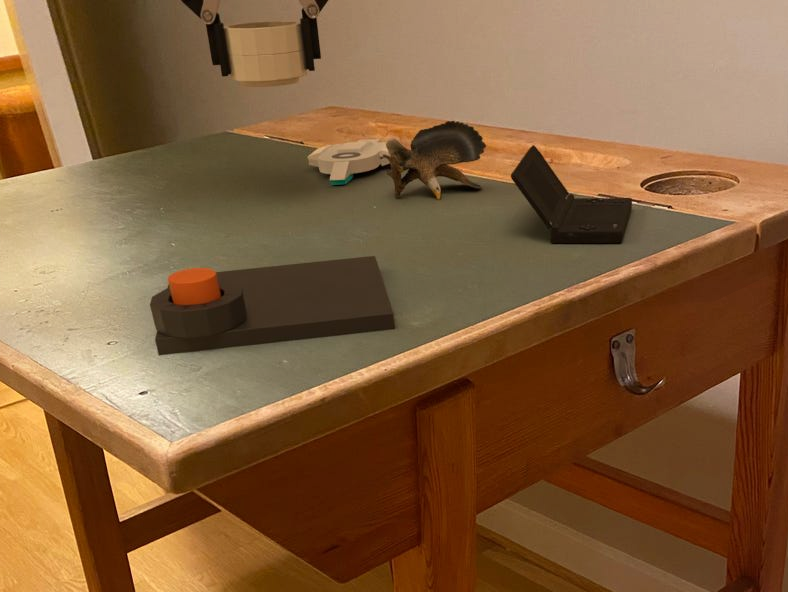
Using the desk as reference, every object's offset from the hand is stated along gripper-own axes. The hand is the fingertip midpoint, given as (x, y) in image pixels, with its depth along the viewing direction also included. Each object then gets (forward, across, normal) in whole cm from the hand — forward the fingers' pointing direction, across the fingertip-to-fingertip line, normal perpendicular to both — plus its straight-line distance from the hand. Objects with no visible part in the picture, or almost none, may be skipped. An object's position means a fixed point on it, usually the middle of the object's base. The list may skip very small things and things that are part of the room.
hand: (268, 70), depth 91 cm
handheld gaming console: (+12, +25, -16) cm, 31 cm away
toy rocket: (+12, +8, +15) cm, 21 cm away
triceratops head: (+12, +15, 0) cm, 19 cm away
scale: (+12, -1, -30) cm, 32 cm away
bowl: (+1, 0, 0) cm, 1 cm away
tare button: (+10, -6, -34) cm, 36 cm away
